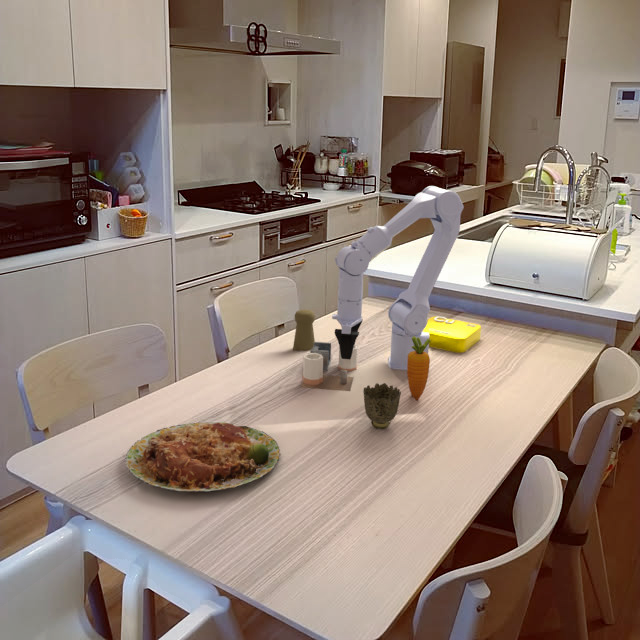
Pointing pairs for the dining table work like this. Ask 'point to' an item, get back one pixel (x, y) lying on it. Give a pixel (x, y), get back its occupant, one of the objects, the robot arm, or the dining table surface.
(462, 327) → the element tile
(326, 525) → the dining table surface
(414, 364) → the carrot
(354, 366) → the sleeve
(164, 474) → the rice dish
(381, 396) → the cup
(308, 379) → the sleeve
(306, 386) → the pin board
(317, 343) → the grey metal bracket
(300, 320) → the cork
